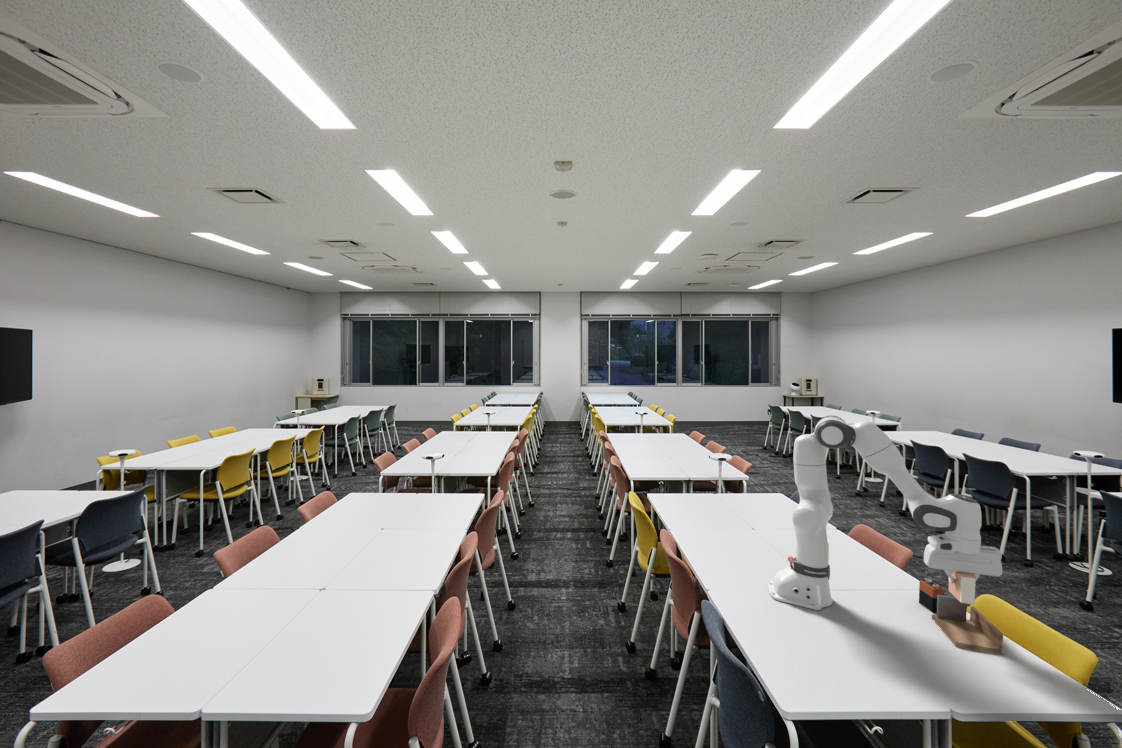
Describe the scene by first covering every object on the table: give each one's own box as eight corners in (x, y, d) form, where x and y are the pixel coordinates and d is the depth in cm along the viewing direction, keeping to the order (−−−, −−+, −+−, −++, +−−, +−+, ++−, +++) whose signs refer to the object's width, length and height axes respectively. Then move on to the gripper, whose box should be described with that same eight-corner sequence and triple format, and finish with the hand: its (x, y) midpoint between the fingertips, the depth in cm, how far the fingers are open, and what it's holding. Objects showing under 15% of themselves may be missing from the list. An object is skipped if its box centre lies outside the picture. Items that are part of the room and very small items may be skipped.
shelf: (955, 646, 143) (956, 627, 142) (931, 618, 158) (932, 600, 157) (1002, 654, 139) (1003, 634, 138) (973, 625, 154) (974, 606, 154)
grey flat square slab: (938, 618, 155) (938, 596, 155) (936, 616, 156) (937, 594, 156) (966, 622, 153) (966, 600, 153) (964, 620, 154) (965, 598, 153)
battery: (929, 602, 168) (930, 577, 167) (944, 613, 161) (945, 586, 160) (918, 602, 168) (918, 577, 167) (932, 613, 161) (933, 586, 161)
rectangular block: (961, 603, 145) (961, 576, 144) (948, 590, 152) (949, 565, 152) (974, 604, 144) (975, 578, 143) (961, 592, 151) (961, 566, 151)
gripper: (995, 543, 147) (994, 584, 148) (922, 536, 154) (920, 574, 154) (1008, 551, 141) (1006, 593, 142) (930, 543, 148) (929, 583, 148)
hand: (961, 583), depth 148 cm, fingers closed on rectangular block, 3 cm apart
